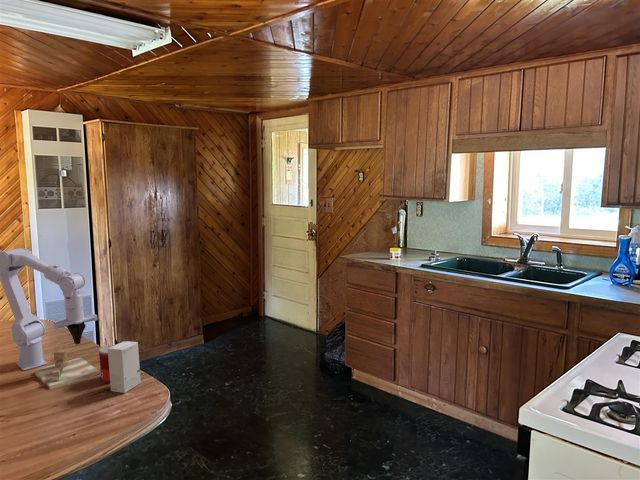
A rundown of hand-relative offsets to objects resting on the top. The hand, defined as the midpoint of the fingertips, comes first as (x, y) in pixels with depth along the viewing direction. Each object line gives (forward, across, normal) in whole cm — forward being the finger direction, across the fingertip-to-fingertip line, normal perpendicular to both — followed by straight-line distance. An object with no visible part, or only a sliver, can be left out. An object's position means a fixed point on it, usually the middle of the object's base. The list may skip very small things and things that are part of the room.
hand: (77, 343), depth 169 cm
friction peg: (+8, -7, -1) cm, 11 cm away
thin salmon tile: (+8, 0, -7) cm, 11 cm away
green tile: (+9, -9, -7) cm, 14 cm away
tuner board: (+10, -5, -1) cm, 11 cm away
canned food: (+10, +6, -17) cm, 20 cm away
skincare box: (+10, +6, -27) cm, 29 cm away
